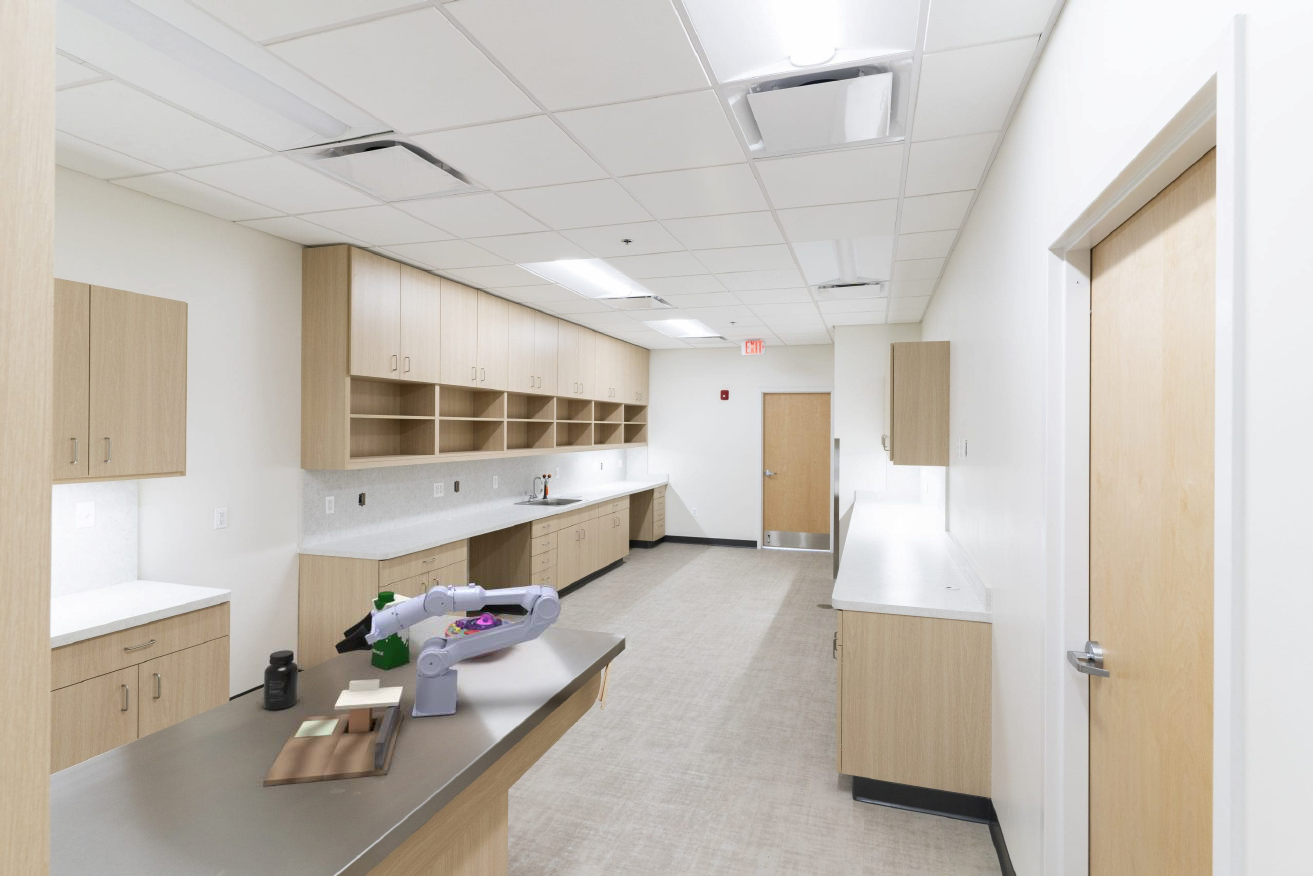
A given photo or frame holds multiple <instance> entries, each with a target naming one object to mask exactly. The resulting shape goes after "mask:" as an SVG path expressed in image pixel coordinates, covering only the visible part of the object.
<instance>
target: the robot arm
mask: <svg viewBox="0 0 1313 876" xmlns="http://www.w3.org/2000/svg"><path fill="white" fill-rule="evenodd" d="M486 605H488V606H489V605H491V606H492V605H520V606H521V607H522V608H524V609H525V610H527V611H528V612H527V613H526V615H525V617H524V618H523V619H522V620H517V621H514V622H511V623H510V624H506V625H502V626H499V627H495V628H491V629H488V630H484V631H480V632H476V633H473V634H469V635H465V636H462V637H453V636H450V637H446V638H445V637H440V636H431V637H429V638H428V639H426V640H425V641H424V642H423V644H422V646H421V651H420V654H419V655H418V657H417V659H416V674H415V675H416V677H415V678H416V680H415V682H416V683H415V701H414V704H413V709H412V713H411V717H413V718H416V717H427V716H428V717H432V716H442V715H443V716H445V715H455V714H456V709H457V702H458V701H459V693H458V674H459V673H458V669H453V667H454V666H455V665H457V664H458V663H459V662H460V661H462V660H466V659H468V658H470V657H473V656H477V655H480V654H484V653H487V652H491V651H495V650H498V649H499V650H502V649H505V648H509V647H512V646H516V645H518V644H523V643H527V642H530V641H533V640H535V639H538V638H539V637H540V636H541V635H542V634H543V633H544V632H545V631H547V629H548V628H549V627H551V625H553V624H555V623H556V622H557V620H558V617H559V616H560V613H561V610H562V604H561V602H560V599H559V593H558V590H556V588H555V587H554V586H551V585H542V586H540V585H536V584H533V585H527V586H518V587H517V586H516V587H507V588H497V589H484V588H483V587H482V586H481V585H476V583H475V582H473V583H472V582H471V583H469V584H468V586H467V585H466V586H464V585H463V586H453V584H451V585H450V584H449V585H447V587H446V586H444V585H433V586H432V587H430V588H429V590H428V591H427V593H426V592H425V593H423V594H419V595H418V596H414V597H413V598H412V599H410V600H407V601H405V602H403V603H400V604H398V605H396V606H394V607H391V608H389V609H387V610H385V611H382V612H380V613H377V612H376V610H375V609H374V610H373V609H372V610H371V611H369V612H368V613H367V614H366V615H365V616H363V618H362V619H361V620H360V621H358V622H356V623H355V624H354V625H352V626H351V627H349V628H348V629H347V630H345V631H344V632H343V636H344V637H345V638H344V639H343V640H340V641H339V642H338V643H336V644H335V645H334V648H335V649H336V651H337V653H338V654H339V655H341V654H345V653H346V654H347V653H351V652H356V651H371V650H373V643H374V642H376V641H378V640H381V639H385V638H386V637H387V636H389V635H392V634H394V633H396V632H398V631H400V630H403V629H405V628H407V627H409V626H410V627H411V626H414V625H416V624H418V623H420V622H422V621H423V622H424V620H426V619H428V618H430V617H434V616H435V617H442V616H444V615H446V614H447V613H448V612H451V613H454V612H457V613H459V612H469V611H470V612H471V611H473V612H474V611H480V610H481V609H483V608H484V607H485V606H486ZM410 627H409V628H410ZM499 650H498V651H499Z"/></svg>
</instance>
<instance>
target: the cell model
mask: <svg viewBox="0 0 1313 876" xmlns="http://www.w3.org/2000/svg"><path fill="white" fill-rule="evenodd" d="M510 623H512V621H511V620H510V619H506V618H501V617H497V616H495V615H494V614H492V613H490V612H489V611H488V612H487V611H486V612H482V613H481V614H480V615H479V616H471V617H467V618H465V617H464V618H460V619H458V620H457V619H456V620H455V621H453V622H451V623H450V624H448V626H447V627H446V628H445V630H444V638H446V637H450V636H453V637H462V636H465V635H469V634H473V633H476V632H480V631H484V630H488V629H491V628H495V627H499V626H502V625H506V624H510ZM499 650H500V649H498V650H495V651H491V652H487V653H484V654H480V655H477V656H473V657H470V658H471V659H476V658H480V657H485V656H489V655H492V654H494V653H497V652H498V651H499Z"/></svg>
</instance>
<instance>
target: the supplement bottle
mask: <svg viewBox="0 0 1313 876" xmlns="http://www.w3.org/2000/svg"><path fill="white" fill-rule="evenodd" d="M294 655H295V652H294V651H293V650H289V649H287V650H286V649H285V650H278V651H274V652H271V653H270V654H269V661H268V663H269V664H268V666H267V667H266V668H265V669H264V674H263V707H264V708H265V709H267V710H268V711H279V710H285V709H288V708H290V707H292V706H294V705H295V704H296V703H297V701H298V690H299V689H298V685H299V683H298V681H299V666H298V664H297V663H296V662H295V661H294V660H295V657H294Z"/></svg>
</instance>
